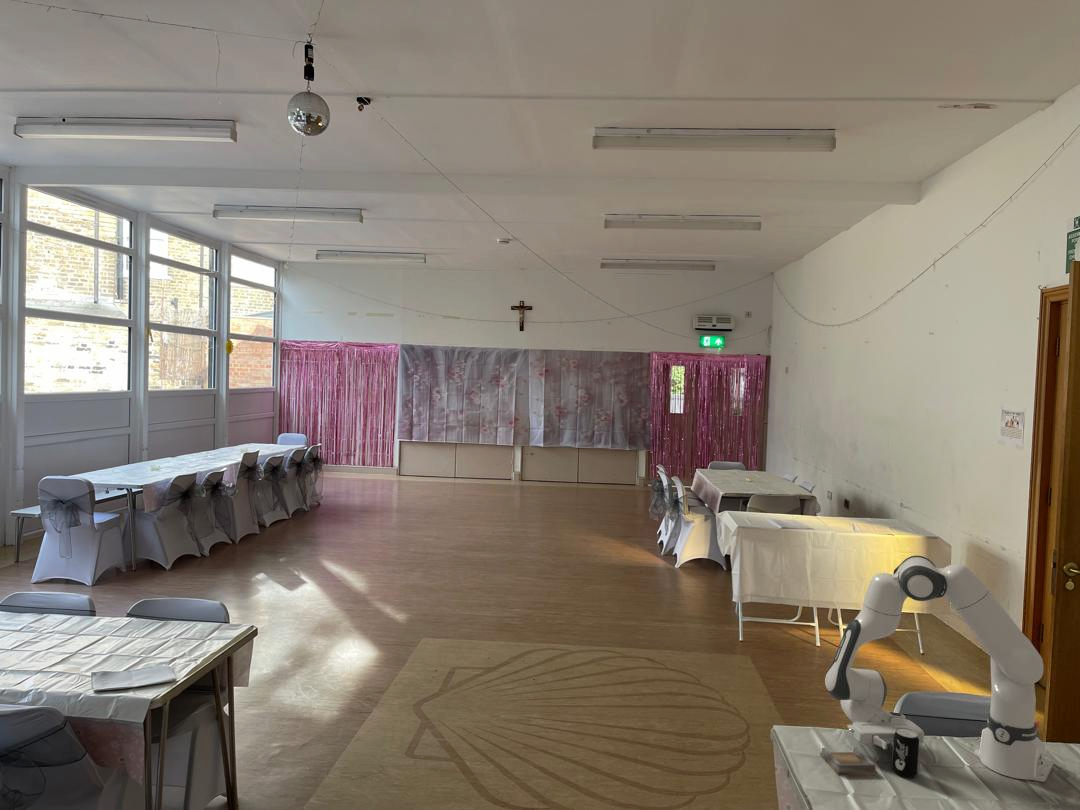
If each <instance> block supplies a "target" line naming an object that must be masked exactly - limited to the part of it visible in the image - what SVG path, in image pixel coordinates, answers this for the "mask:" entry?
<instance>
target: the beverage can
mask: <svg viewBox="0 0 1080 810" xmlns="http://www.w3.org/2000/svg"><path fill="white" fill-rule="evenodd" d="M919 752H920V749H919V738H918V734H917V733H916V732H915V731H913V730H911V729H908V728H897V729H896V732H895V733H894V738H893V744H892V756H891V757H892V758H891V759H892V760H891V770H893V772H894V774H896V775H897V776H899V777H902V778H905V779H913V778H915V777H916V776H918V769H919V768H918V765H919V754H920V753H919Z"/></svg>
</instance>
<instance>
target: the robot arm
mask: <svg viewBox="0 0 1080 810" xmlns="http://www.w3.org/2000/svg"><path fill="white" fill-rule="evenodd" d="M942 597H945V599H947V601H948V602H949V603H950V604H951V606H952V607H953V608H954V611H956V612H957V614H958V615H959V616H960V617H961V619H962V620H963V621H964V623H965V624H966V625H967V626H968V628H969V629H970V630H971V631H972V633H973V634H974V636H975V637H976V638H977V640H978V641H979V642H980V645H982V647H983V648H984V649H985V650H986V652H987V653H988V655H989V656H990V681H991V682H990V683H991V685H990V686H991V689H990V691H991V695H990V708H989V709H990V711H989V712H988V714H987V721H986V722H987V727H985V728H982V731H981V737H980V744H979V748H977V749H976V748H975V749H974V755H975V756H977V758H979V759H980V761H981V763H982V764H983V765H984V766H985V767H987V768H988V769H990V770H992V771H994V772H996V773H997V774H1000V775H1003V776H1006V777H1010V778H1013V779H1019V780H1028V781H1029V780H1032V781H1037V782H1042V783H1043V782H1044V783H1045V782H1046V781H1047V779H1048V777H1049V775H1050V773H1051V771H1052V768H1053V766H1054V760H1052V759H1051V758H1049V757H1048V756H1045V752H1046V749H1045V748H1046V747H1045V743H1044V742H1043V741H1041V739H1040V738H1039V737H1038V734H1037V733H1038V729H1039V727H1040V721H1038V720H1036V718H1035V717H1036V704H1037V703H1036V702H1037V697H1036V689H1035V688H1036V687H1035V683H1037V682H1039V681H1040V680H1041V679H1042V677H1043V675H1044V660H1043V658H1042V656H1041V654H1040V653H1039V652H1038V650H1037V649H1036V648H1035V646H1034V644H1033V643H1032V642H1031V641H1030V640H1029V638H1028V637H1027V636H1026V635H1025V634H1024V633H1023V632H1022V631H1021V629H1020V627H1019V626H1018V625H1017V624H1016V623H1015V622H1014V620H1013V619H1012V617H1011V616H1010V615H1009V614H1008V613H1007V611H1006V610H1005V609H1004V607H1003V606H1002V605H1001V604H1000V602H999V601H998V600H997V599H996V597H995V596H994V595H993V593H992V592H991V591H990V590H989V589H988V588H987V586H986V585H985V584H984V583H983V581H982V580H981V579H980V578H979V577H978V576H977V575H975V573H974V572H972V570H970V569H969V568H968V567H967V566H965V565H963V564H960V563H952V564H949V565H946V566H944V567H942V568H940V567H937V566H936V565H935V564H934V563H933V561H932V560H930V559H929V558H927V557H925V556H922V555H911V556H908V557H907V558H905V559H904V560H903V561H901V563H899V565H898V566H897V567H896V568H894V570H893V573H892V574H891V573H887V572H880V573H875V574H874V575H873V576H872V577H871V579H870V581H869V584H868V587H867V589H866V592H865V595H864V598H863V603H862V607H861V610H859V613H858V614H857V616H855V618H854V619H853V620H850V621H849V622H848V624H847V626H846V628H845V629H844V632H843V635H842V637H841V639H840V643H839V645H838V647H837V650H836V652H835V655H834V658H833V660H832V662H831V664H830V666H829V668H828V669H827V671H826V673H825V676H824V687H825V689H826V691H827V693H828V694H829V695H830V696H831V697H832V698H834V699H835V700H836V701H840V707H841V710H843V712H844V714H845V716H847V718H848V719H849V720H850V721H851V722H850V723H849V724H847V725H846V728H847V729H848V730H849V731H850V732H852V736H853V737H854V738H855V740H856V741H857V742H858V743H860V744H861V745H875V746H878V747H881V748H882V749H883V750H891V749H890V746H891V745H893V738H894V733H895V732H896V729H897V728H908V729H911V730H913V731H915V732H916V733H917V734H918V738H919V750H920V749H921V746H922V744H923V743H924V740H925V732H924V730H923V729H922V728H921V727H920V726H918V725H917V724H916V723H914V722H913V721H911V720H910V719H907V718H906V716H905V715H904V714H903V713H899V712H893V711H888V710H886V709H882V707H883V706H884V704H885V701H886V698H887V697H888V686H887V683H886V681H885V679H884V677H883V676H882V674H881V673H880V672H879V671H878V670H875V669H866V668H854V667H852V665H853V663H854V660H855V658H856V656H857V653H858V650H859V649H860V648H861V647H862V646H863V645H865V644H866V643H869V642H871V641H875V640H877V639H882V638H883V639H884V638H887V637H889V636H890V635H892V634H894V633H895V632H896V630H897V629H898V627H899V625H900V622H901V617H902V612H903V606H904V604H905V601H906V600H907V598H909V599H912V600H914V601H917V602H926V601H930V600H931V601H932V600H934V599H939V598H942Z"/></svg>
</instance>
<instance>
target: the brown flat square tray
mask: <svg viewBox="0 0 1080 810" xmlns="http://www.w3.org/2000/svg"><path fill="white" fill-rule="evenodd" d="M819 756H820V757H821V758H822V759H823V761H825V762H826V764H827V765H828V764H829V765H828V766H829V767H830V768H831V769H832V770H833V771H834V772H835V773H836V774H837V776H868V775H867V774H875V775H876V764H875V763H874V762H873V760H871V759H870V758H868V757H867V755H866V754H865V753H863V752H862V751H861V749H860V748H859V747H857V746H856V747H853V751H852V752H850V751H849V752H847V751H846V752H845V751H844V752H843V751H841V752H837V751H836V752H830V751H829V750H828V749H827V747H821V752H820V753H819Z"/></svg>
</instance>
